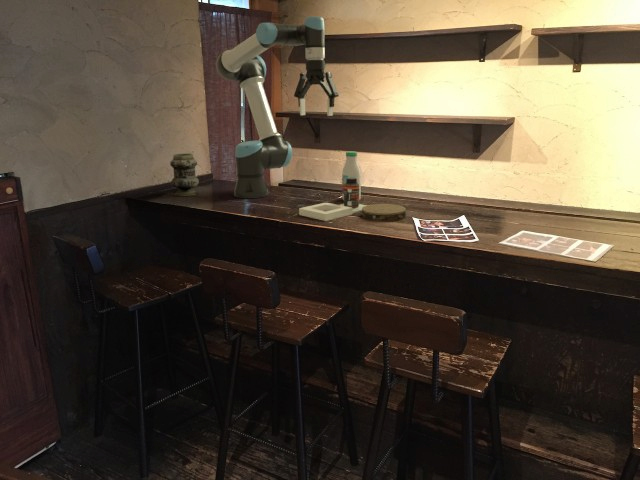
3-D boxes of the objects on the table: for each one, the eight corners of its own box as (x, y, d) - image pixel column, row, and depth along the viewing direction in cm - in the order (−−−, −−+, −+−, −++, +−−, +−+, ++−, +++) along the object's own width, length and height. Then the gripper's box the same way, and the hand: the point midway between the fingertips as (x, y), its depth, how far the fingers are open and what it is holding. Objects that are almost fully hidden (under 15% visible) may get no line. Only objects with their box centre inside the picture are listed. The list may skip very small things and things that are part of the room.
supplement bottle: (352, 209, 202) (352, 179, 199) (340, 207, 206) (340, 178, 203) (362, 206, 206) (362, 177, 203) (350, 204, 210) (350, 176, 207)
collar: (299, 214, 197) (299, 208, 196) (326, 208, 206) (325, 202, 206) (325, 221, 187) (325, 214, 187) (352, 214, 197) (352, 207, 196)
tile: (329, 208, 206) (329, 207, 206) (350, 203, 214) (350, 202, 214) (352, 213, 198) (352, 211, 198) (373, 208, 206) (373, 206, 206)
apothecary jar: (196, 196, 234) (192, 155, 229) (169, 196, 234) (165, 156, 229) (202, 191, 246) (199, 152, 241) (176, 191, 246) (173, 152, 241)
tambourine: (371, 210, 204) (371, 202, 203) (411, 213, 197) (411, 205, 196) (355, 219, 190) (355, 211, 190) (397, 223, 184) (397, 215, 183)
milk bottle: (360, 198, 225) (361, 150, 220) (360, 201, 218) (360, 153, 212) (342, 197, 226) (342, 150, 220) (341, 201, 218) (341, 153, 213)
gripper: (284, 60, 211) (286, 115, 217) (336, 57, 196) (336, 116, 202) (296, 61, 216) (297, 114, 222) (347, 58, 202) (347, 115, 208)
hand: (316, 115), depth 212 cm, fingers open, 13 cm apart
